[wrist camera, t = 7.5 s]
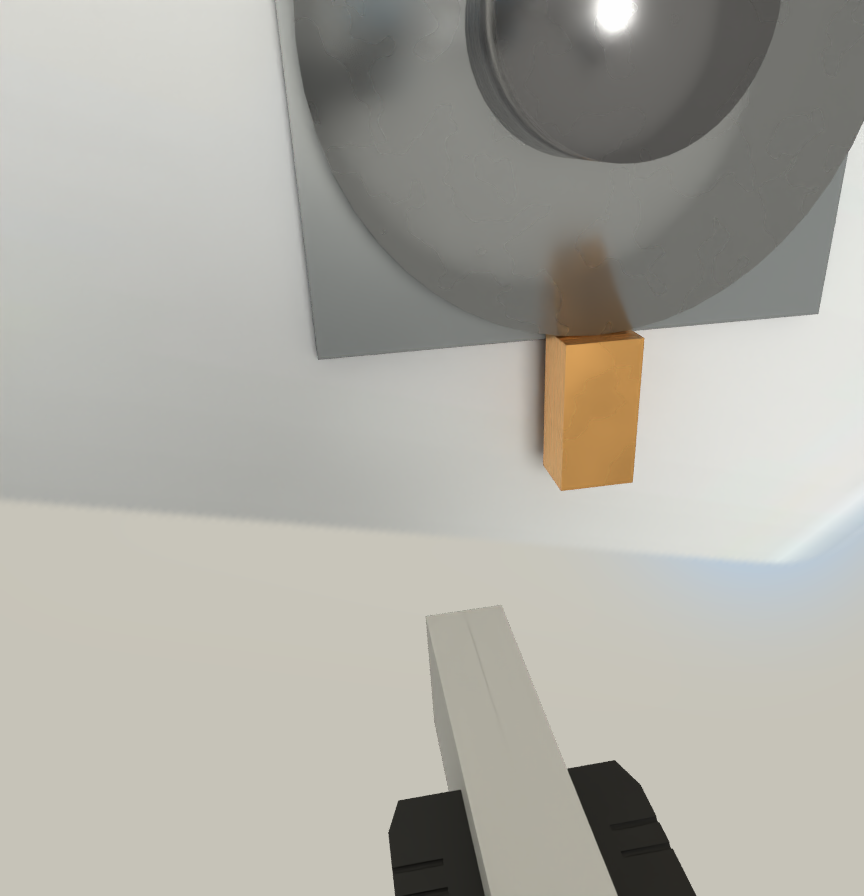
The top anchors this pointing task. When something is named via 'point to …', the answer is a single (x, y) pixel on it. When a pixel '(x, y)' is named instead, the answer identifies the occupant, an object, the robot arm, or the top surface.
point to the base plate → (444, 324)
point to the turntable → (572, 196)
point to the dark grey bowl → (615, 70)
